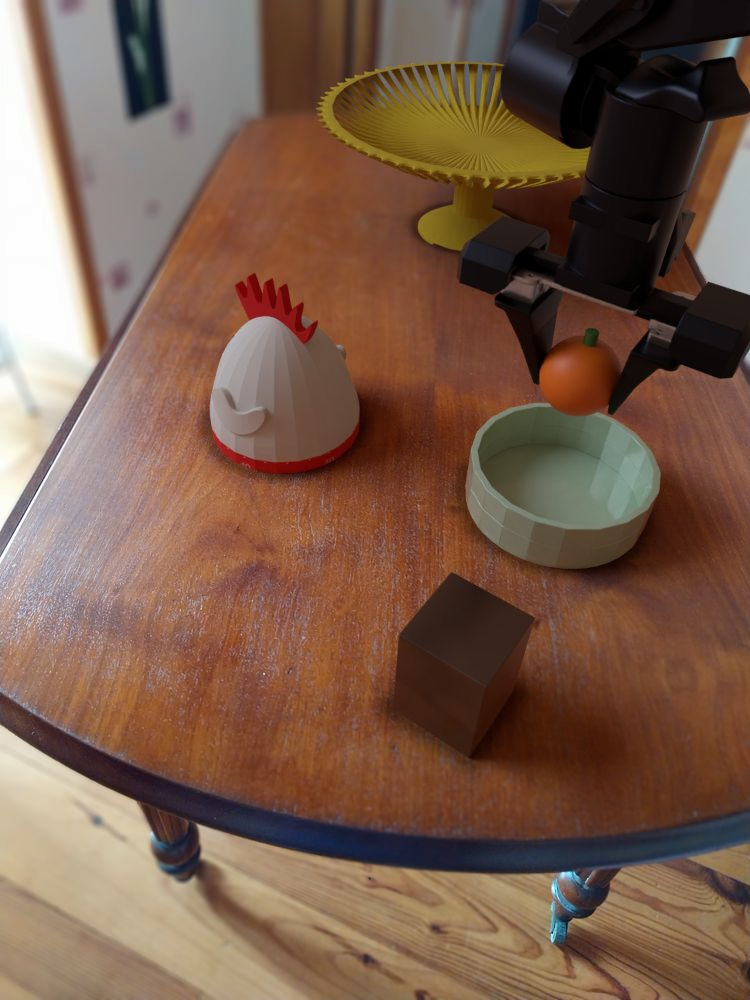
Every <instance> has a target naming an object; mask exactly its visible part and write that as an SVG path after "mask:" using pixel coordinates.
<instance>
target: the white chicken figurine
mask: <svg viewBox="0 0 750 1000" xmlns="http://www.w3.org/2000/svg"><path fill="white" fill-rule="evenodd" d="M260 284H261V283H260V281H259V279H258V277H257V274H256V273H255V272H253V273H251V274H250V275H247V276H246V283H245V282H244V281H243V280H240V281H238V282H237V283H235V284H234V288H235V292H236V294H237V297H238V299H239V301H240V303H241V306H242V308H243V310H244V312H245V314H246V316H247V318H248V321H247V322H245V324H243V325H242V326H241V327H240V328H239V330H238V331H237V332H236V333H235V334H233V335H232V336H231V339H230V341H229V342H228V343H227V345H226V347H225V349H224V351H223V352H222V354H221V357H220V360H219V363H218V366H217V369H216V373H215V377H214V381H213V386H212V391H211V394H210V402H209V418H210V422H211V423H210V425H211V431H212V435H213V436H212V437H213V442H215V444H216V445H217V447H218V448H219V450H220V451H221V453H222V454H223V455H224V456H226V457H227V458H229V460H231V461H232V462H234V463H235V464H238V465H240V466H243V467H245V468H248V469H250V470H254V471H257V472H264V473H270V474H292V473H295V474H297V473H302V472H306V471H310V470H315V469H317V468H321V467H323V466H325V465H327V464H329V463H331V462H333V461H336V460H337V459H339V458H340V457H341V456H342V455H343V454H344V453H346V452H347V451H348V450H349V449H350V448H351V447H352V446H353V444H354V442H355V440H356V439H357V437H358V435H359V430H360V417H361V416H360V414H361V413H360V412H361V411H360V410H361V409H360V401H359V397H358V392H357V390H356V386H355V384H354V381H353V379H352V376H351V373H350V371H349V368H348V366H347V364H346V359H347V350H346V348H345V347H344V345H341V344H336V343H335V341H333V340H332V338H331V337H330V336H329V335H328V334H327V333H326V332H325V331H324V330H323V329H322V328H321V327H320V326H319V325H318V324H319V320H318V319H317V320H315V321H313V320H311V319H309V318H307V317H306V316H304V315H303V313H304V307H305V303H304V301H301V302H299V303H298V304H296V305H294V307H292V302H291V296H290V289H289V286H288V283H286V282H285V283H283V284H282V285H280V286H279V287H278V288H277V292H276V287H275V281H274V278H273V277H270V278H269V279H267V280H266V281H265V282H264V283H263V287H261V285H260Z"/></svg>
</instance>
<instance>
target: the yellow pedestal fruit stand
mask: <svg viewBox="0 0 750 1000" xmlns="http://www.w3.org/2000/svg"><path fill="white" fill-rule="evenodd" d="M439 65H440V67H441V69H442V72H443V76H444V80H445V84H446V88H447V93H448V98H449V102H448V99H447V97H446V95H445V92H444V89H443V85H442V81H441V78H440V72H439V67H438V66H439ZM452 65H454V67H455V72H456V79H457V85H458V86H457V87H458V96H459V103H458V100H457V97H456V93H455V89H454V88H455V87H454V83H453V75H452ZM465 65H467V67H468V74H469V104H468V102H467V95H466V85H465V84H466V83H465ZM479 65H481V69H482V70H481V72H482V73H481V74H482V76H481V90H480V97H479V98H480V99H479V104H478V103H477V100H478V99H477V81H478V69H479ZM503 65H504V64H501V63H496V62H495V61H494V62H490V63H489V62H482V61H478V62H472V61H468V60H465V61H454V60H451V61H440V60H438V61H437V62H427V61H424V62H423V63H415V62H411V63H410V64H398V66H387V65H386V67H385V68H381V69H380V68H379V69H378V68H374V71H363V73H364V74H354V75H353V76H354V77H353V78H344V80H345V81H344V82H337V85H338V86H330V87H329V89H331V90H330V91H324V94H325V96H320V97H319V98H320V99H321V100H322V101H319V102H317V104H318V105H319V106H320V107H316V108H315V109H316V110H317V111H318V112H320V113H316V115H317V116H318V117H319V119H317V121H318V122H320V123H321V124H324V125H321V127H322V128H323V129H325V130H327V132H326V133H327V134H329V135H331V136H333V137H335V138H334V140H336V141H338V142H340V143H343V145H342V146H345V147H347V148H349V149H351V150H353V151H355V152H356V153H359V154H361V155H363V156H366V157H367V158H370V159H372V160H374V161H376V162H379V163H381V164H384V165H386V166H388V167H390V168H393V169H396V170H398V171H401V172H403V173H405V174H409V175H412V176H413V177H418V178H420V179H423V180H425V181H426V180H430V181H432V182H434V183H438V182H440V183H442V184H444V185H446V186H447V185H450V183H452V184H453V185H454V190H453V201H452V204H448V205H445V206H442V207H438V208H435V209H431V210H430V211H427V212H426V213H425V214H424V215H423V216H421V217H420V219H419V220H418V222H417V231H418V234H419V236H421V238H422V239H423V240H424V241H425V242H427V243H428V244H430V245H433V244H435V245H438V246H441V247H443V248H445V249H449V250H453V251H460V252H461V250H462V248H463V246H464V244H465V243H466V242H467V241H469V240H470V239H471V238H473V237H474V236H475V235H477V234H478V233H479V232H481V231H482V230H483V229H485V228H486V227H487V226H489V225H490V224H491V223H493V222H494V221H496V220H497V219H499V218H500V217H502V216H506V217H509V218H512V217H511V216H509V215H508V214H506V213H503V212H502V211H499V210H497V209H495V208H494V207H493V201H494V194H495V190H498V189H500V188H504V190H509V189H513V188H515V189H517V190H519V189H523V188H528V189H529V188H533V187H543V186H546V185H551V184H556V183H560V182H565V181H569V180H573V179H579V178H582V177H583V178H584V174H585V170H586V165H587V161H588V156H589V152H590V148H591V147H588V148H585V149H572V148H570V147H568V146H566V145H564V144H563V143H561V142H559V141H557V140H556V139H554V138H552V137H551V136H549V135H547V134H545V133H544V132H542V131H540V130H538V129H537V128H535V127H533V126H532V125H530V124H528V123H526V122H525V121H523V120H521V119H519V118H518V117H516V116H514V115H512V114H511V113H510V112H509V110H508V109H507V108H506V106H505V104H504V102H503V100H502V99H501V100H500V102H499V105H498V98H499V94H500V81H501V72H502V67H503ZM425 66H427V67H428V70H429V72H430V74H431V77H432V79H433V83H434V86H435V89H436V93H437V95H438V99H439V100H438V99H437V97H436V95H435V93H434V91H433V89H432V87H431V83H430V80H429V78H428V73H427V71H426V68H425ZM493 66H495V72H494V75H495V76H494V81H493V87H492V91H491V97H490V101H489V104H488V93H489V92H488V91H489V84H490V78H491V77H490V76H491V73H492V68H493ZM413 67H414V68H415V70H416V72H417V74H418V76H419V78H420V80H421V82H422V84H423V87H424V89H425V92H426V94H427V97H428V99H429V100H428V99H427V98H426V96H425V94H424V92H423V90H422V88H421V87H420V85H419V83H418V80H417V78H416V76H415V73H414V70H413ZM400 69H402V71H404V73H405V74H406V76H407V78H408V79H409V82H410V83H411V85H412V87H413V89H414V91H415V93H416V95H417V97H418V98H416V96H415V95H414V93H413V92H412V90H411V89H410V87H409V85H408V84H407V82H406V80H405V78H404V76H403V74H402V72H401V70H400ZM389 71H390V72H391V73H392V74H393V76H394V77H395V79H396V80H397V82H398V83H399V85H400V86H401V87H402V90H403V91H404V93H405V94H406V96H407V98H408V99H409V100H408V99H407V98H406V96H405V95H404V94H403V93H402V92H401V90H400V89H399V88H398V86H397V84H396V83H395V81H394V80H393V78H392V76H391V74H390V72H389ZM378 74H380V75H381V76H382V77H383V79H384V80H385V82H386V83H387V84H388V85H389V87H390V88H391V90H392V91H393V93H395V95H396V96H397V98H398V99H399V100H398V99H397V98H396V97H395V95H393V94H392V92H390V90H389V89H388V88H387V87H386V85H385V83H383V81H382V79H381V78H380V76H379V75H378ZM368 77H370V79H371V80H372V81H373V82H374V83H375V84H376V85H377V87H378V88H379V89H380V90H381V91H382V93H383V94H384V95H385V96H386V97H387V99H388V100H389V101H388V100H387V99H386V98H385V96H384V95H382V94H381V93H380V92H379V91H378V90H377V88H376V87H375V85H374V84H373V83H372V82H371V80H370V79H369V78H368ZM359 80H360V81H361V82H362V83H363V84H364V85H365V86H366V87H367V88H368V89H369V90H370V91H371V92H372V93H373V94H374V96H375V97H377V99H379V101H380V102H379V101H378V100H376V99H375V98H374V97H373V96H372V95H371V94H370V93H369V92H368V90H366V89H365V87H363V85H362V84H361V82H360V81H359ZM351 85H352V86H353V87H355V88H356V89H357V90H358V91H359V92H360V93H361V94H362V95H363V96H365V97H366V98H367V99H368V101H367V100H366V99H365V98H363V97H362V96H361V94H359V93H358V92H357V91H356V90H355V89H354V88H353V87H352V86H351ZM344 89H345V90H344ZM346 91H348V92H349V93H350V94H351V95H353V96H354V97H355V98H356V99H357V100H358V101H359V102H361V103H362V104H363V105H364V106H365V107H364V106H363V105H362V104H360V103H359V102H358V101H356V100H355V99H354V98H353V97H352V96H351V95H350V94H348V93H347V92H346ZM341 96H342V97H344V99H346V100H348V101H349V102H350V103H351V104H352V105H353V106H352V105H351V104H350V103H348V102H347V101H346V100H344V99H343V98H342V97H341ZM418 99H419V100H418ZM335 100H337V101H338V102H339V103H341V104H342V105H344V106H345V107H346V108H345V107H343V106H342V105H341V104H339V103H338V102H337V101H335ZM399 101H400V102H399ZM369 102H371V103H372V104H373V105H372V104H371V103H369ZM497 106H498V107H497ZM335 107H336V108H337V109H336V108H335ZM355 107H356V108H357V109H356V108H355ZM347 108H348V109H349V110H350V111H352V112H353V113H352V112H350V111H349V110H347ZM338 109H339V110H338ZM334 113H335V114H334ZM345 114H346V115H345ZM339 116H340V117H339ZM348 116H349V117H348ZM320 118H321V119H320ZM344 119H345V120H344Z"/></svg>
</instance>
